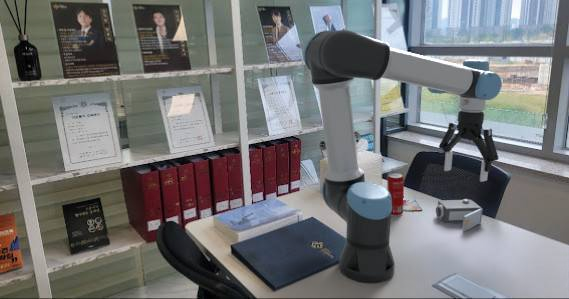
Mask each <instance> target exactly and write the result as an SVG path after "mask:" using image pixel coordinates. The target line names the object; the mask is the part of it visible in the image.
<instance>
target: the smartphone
mask: <svg viewBox="0 0 569 299" xmlns="http://www.w3.org/2000/svg"><path fill="white" fill-rule="evenodd" d="M417 203H418V202H417V200H416V199H415V200H414V201H412V202H409V200H407V201H406V200H403V212H423V209H422V208H421V206H420V205H419V203H418V204H417Z"/></svg>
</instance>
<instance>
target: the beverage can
mask: <svg viewBox="0 0 569 299" xmlns="http://www.w3.org/2000/svg"><path fill="white" fill-rule="evenodd" d="M386 180H387V181H386V183H387V184H386V186H387V188H386V189H387V190H388V191H389V193H390V194H391V200H392V211H391V217H392V216H393V217H398V216H402V215H403V213H404V211H403V198H404V196H405V195H404V194H405V193H404V189H405V188H404V187H405V178H404V175H403V174H402V173H399V172H390V173H389V174H388V176H387V178H386Z"/></svg>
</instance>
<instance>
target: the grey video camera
mask: <svg viewBox="0 0 569 299" xmlns="http://www.w3.org/2000/svg"><path fill="white" fill-rule="evenodd" d="M479 208H482V207H481V206H480V205H478V203H476V202H475V201H473V200H472V199H469V198H464V199H448V200H447V199H446V200H443V199H442V200H438V201H437V206H436V207H435V214H436V217H438V219H441V220H442V221H443V223H445V224H463V218H464V216H465V215H467V214H469V213H471V212H473V211H476V210H478V209H479Z"/></svg>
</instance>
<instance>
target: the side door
mask: <svg viewBox="0 0 569 299" xmlns="http://www.w3.org/2000/svg"><path fill="white" fill-rule="evenodd" d="M482 216H483V208H482V207H481V208H479V209H478V210H476V211H473V212H471V213H469V214H467V215H465V216H464V218H463V223H462V229H461V230H462V231H463V232H466V231H467V230H469V229H471V228H473V227H475V226H477V225H478V224H481V223H482V220H483V217H482Z"/></svg>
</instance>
